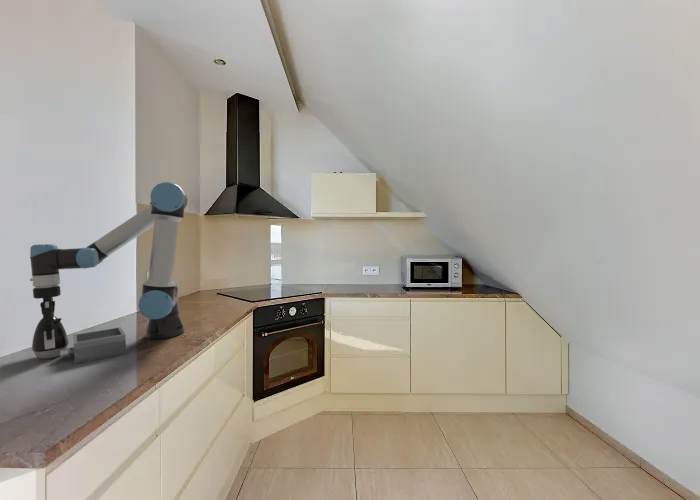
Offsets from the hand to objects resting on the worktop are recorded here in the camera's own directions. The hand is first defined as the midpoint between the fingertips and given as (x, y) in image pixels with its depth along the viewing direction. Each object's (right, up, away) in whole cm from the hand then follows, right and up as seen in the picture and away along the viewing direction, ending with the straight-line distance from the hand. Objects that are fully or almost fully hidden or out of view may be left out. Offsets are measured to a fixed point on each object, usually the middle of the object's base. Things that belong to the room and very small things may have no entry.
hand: (50, 344), depth 127 cm
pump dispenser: (0, -5, 0) cm, 5 cm away
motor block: (+15, -4, +1) cm, 16 cm away
